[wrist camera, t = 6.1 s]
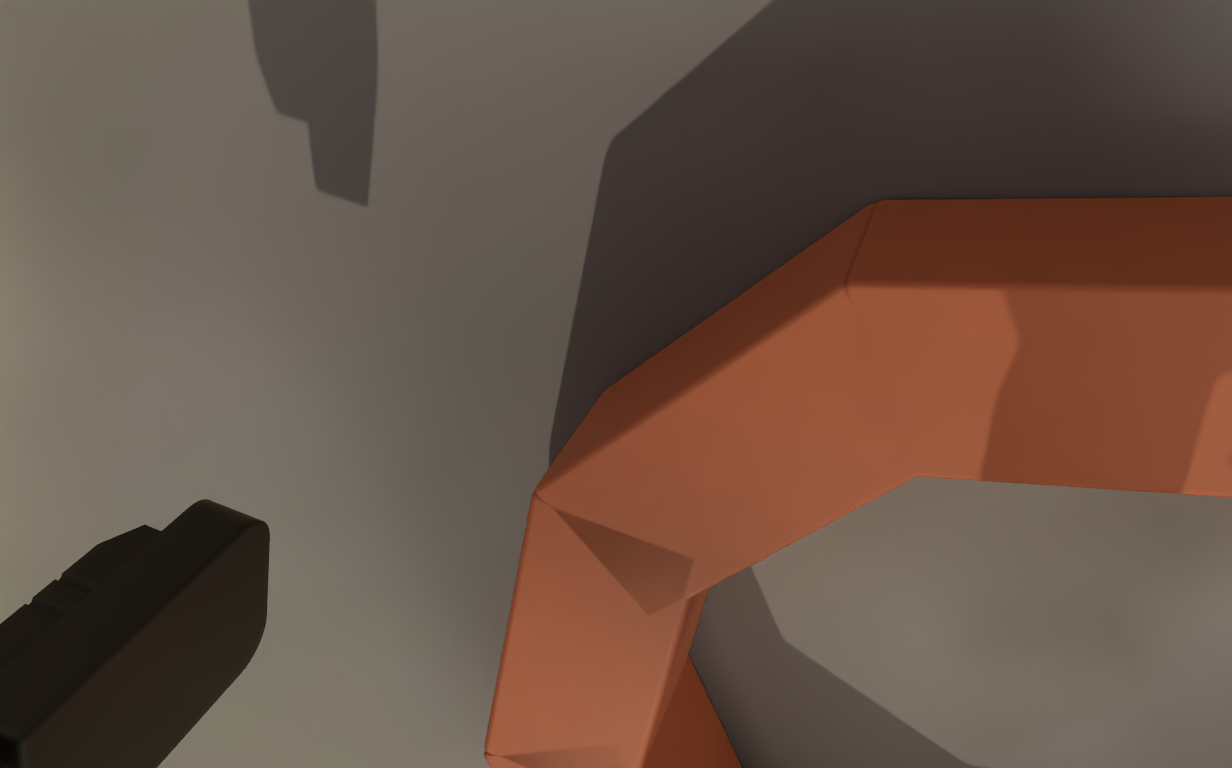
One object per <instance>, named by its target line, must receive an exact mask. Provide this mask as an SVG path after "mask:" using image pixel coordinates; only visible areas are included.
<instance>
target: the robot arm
mask: <svg viewBox="0 0 1232 768" xmlns="http://www.w3.org/2000/svg"><path fill="white" fill-rule="evenodd" d="M269 542H270V532H269V528H268V526H267V524H266V523H265V522H264V521H261V520H259V519H256V518H254V517H251V516H249V515H246V514H243V513H241V512H238V511H236V510H233V509H231V508H228V507H226V506H223V505H220V504H218V503H215V502H213V501H210V500H207V499H204V500H200V501H198V502H196V503H194V504H193V505H192V506H190V507H189V508H188V509H187V510H186V511H184V512H183V513H182V514H181V515H180V516H179V517H177V518H176V519H175V520H174V521H173V522H172V523H170V524H169V525H168V526H167V527H166V528H165V529H164V530H162V531H159V530H157V529H154V528H152V527H149V526H147V525H143V526H140V527H138V528H136V529H133V530H131V531H128V532H126V533H124V534H121V535H119V536H116V537H114V538H112V539H109V540H107V541H104V542H102V543H100V544H98V545H96V546H95V547H94V548H93V549H91V550H90V551H89V552H88V553H87V554H85V555H84V556H83V557H82V558H80V559H79V560H78V561H77V562H76V563H74V564H73V565H72V566H71V567H69V568H68V569H67V570H66V571H65V572H63V573H62V576H61V578H60V579H59V580H58V581H57V580H54V581H52V582H51V583H50V584H49V585H48V586H46V587H45V588H44V589H43V590H41V591H40V592H39V593H38V594H37V595H35V596H34V597H33V600H32V602H31V603H30V604H29V605H27V604H24V605H23V606H22V607H21V608H19V609H18V610H17V611H16V612H15V613H13V614H12V615H11V616H10V617H9V618H7V619H6V620H5V621H4V622H2V623H1V624H0V768H157V767H158V766H159V765H160V763H161V762H162V761H163V760H164V759H165V758H166V757H167V756H168V755H169V753H170V752H171V751H172V750H173V749H174V748H175V747H176V746H177V744H178V743H179V742H180V741H181V740H182V739H183V738H184V737H185V735H186V734H187V733H188V732H189V731H190V730H191V729H192V728H193V726H194V725H195V724H196V723H197V722H198V721H199V720H200V719H201V717H202V716H203V715H204V714H205V713H206V712H207V711H208V710H209V709H210V707H211V706H212V705H213V704H214V703H215V702H216V701H217V700H218V698H219V697H220V696H221V695H222V694H223V693H224V692H225V691H226V689H227V688H228V687H229V686H230V685H231V684H232V683H233V682H234V680H235V679H236V678H237V677H238V676H239V675H240V674H241V673H242V671H243V670H244V669H245V668H246V666H247V665H248V663H249V662H250V660H251V659H252V657H253V655H254V653H255V652H256V650H257V648H258V645H259V643H260V641H261V638H262V635H263V632H264V629H265V624H266V617H267V595H268V569H269Z"/></svg>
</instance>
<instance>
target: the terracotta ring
mask: <svg viewBox="0 0 1232 768" xmlns="http://www.w3.org/2000/svg"><path fill="white" fill-rule="evenodd" d="M916 476H921V477H936V478H951V479H966V480H981V481H996V482H1011V483H1026V484H1041V485H1056V486H1071V487H1086V488H1101V489H1115V490H1130V491H1145V492H1160V493H1175V494H1190V495H1205V496H1220V497H1232V197H1156V198H1048V199H941V200H881V201H879V202H877V204H875V203H874V204H869V205H868V206H866V207H865V208H863V209H862V210H860V211H859V212H858V213H856V214H855V215H853V216H852V217H851V218H849V219H848V220H846V221H845V222H843V223H842V224H841V225H839V226H838V227H836V228H835V229H833V230H832V231H831V232H829V233H828V234H826V235H825V236H824V237H822V238H821V239H819V240H818V241H816V242H815V243H814V244H812V245H811V246H809V247H808V248H806V249H805V250H804V251H802V252H801V253H799V254H798V255H797V256H795V257H794V258H792V259H791V260H789V261H788V262H787V263H785V264H784V265H782V266H781V267H779V268H778V269H777V270H775V271H774V272H772V273H771V274H770V275H768V276H767V277H765V278H764V279H762V280H761V281H760V282H758V283H757V284H755V285H754V286H752V287H751V288H750V289H748V290H747V291H745V292H744V293H743V294H741V295H740V296H738V297H737V298H735V299H734V300H733V301H731V302H730V303H728V304H727V305H725V306H724V307H723V308H721V309H720V310H718V311H717V312H716V313H714V314H713V315H711V316H710V317H708V318H707V319H706V320H704V321H703V322H701V323H700V324H698V325H697V326H696V327H694V328H693V329H691V330H690V331H688V332H687V333H686V334H684V335H683V336H681V337H680V338H679V339H677V340H676V341H674V342H673V343H671V344H670V345H669V346H667V347H666V348H664V349H663V350H661V351H660V352H659V353H657V354H656V355H654V356H653V357H652V358H650V359H649V360H647V361H646V362H644V363H643V364H642V365H640V366H639V367H637V368H636V369H634V370H633V371H632V372H630V373H629V374H627V375H626V376H625V377H623V378H622V379H620V380H619V381H617V382H616V383H615V384H613V385H612V386H610V387H609V388H607V389H606V390H605V391H604V392H603V393H602V394H601V396H600V397H599V399H598V400H597V401H596V403H595V404H594V406H593V407H592V409H591V410H590V411H589V413H588V414H587V416H586V417H585V418H584V420H583V421H582V423H581V424H580V425H579V427H578V428H577V430H576V431H575V433H574V434H573V435H572V437H571V438H570V440H569V441H568V442H567V444H566V445H565V447H564V448H563V449H562V451H561V452H560V454H559V455H558V456H557V458H556V459H555V461H554V462H553V464H552V465H551V466H550V468H549V469H548V471H547V472H546V473H545V475H544V476H543V478H542V479H541V480H540V482H539V483H538V485H537V487H536V489H535V491H534V492H533V493H532V497H531V502H530V507H529V513H528V518H527V523H526V528H525V534H524V539H523V544H522V550H521V555H520V560H519V565H518V571H517V576H516V581H515V586H514V592H513V597H512V602H511V608H510V613H509V618H508V623H507V629H506V634H505V639H504V645H503V650H502V655H501V660H500V666H499V671H498V676H497V682H496V687H495V692H494V697H493V703H492V708H491V713H490V719H489V724H488V729H487V734H486V740H485V752H484V757H485V759H486V760H487V762H488V764H489V766H490V767H491V768H742V766H741V764H740V762H739V760H738V758H737V756H736V754H735V751H734V749H733V747H732V745H731V743H730V741H729V739H728V737H727V735H726V733H725V731H724V728H723V726H722V724H721V722H720V720H719V718H718V716H717V714H716V712H715V710H714V707H713V705H712V703H711V701H710V699H709V697H708V695H707V693H706V691H705V689H704V687H703V684H702V682H701V680H700V678H699V676H698V674H697V672H696V670H695V668H694V666H693V663H692V661H691V659H690V657H689V655H688V654H689V651H690V647H691V644H692V641H693V638H694V634H695V631H696V628H697V625H698V621H699V618H700V615H701V611H702V608H703V605H704V602H705V598H706V595H707V592H708V589H709V588H710V587H712V586H714V585H716V584H717V583H719V582H721V581H723V580H725V579H727V578H729V577H730V576H732V575H734V574H736V573H738V572H740V571H742V570H743V569H745V568H747V567H749V566H751V565H753V564H755V563H756V562H758V561H760V560H762V559H764V558H766V557H767V556H769V555H771V554H773V553H775V552H777V551H779V550H780V549H782V548H784V547H786V546H788V545H790V544H792V543H793V542H795V541H797V540H799V539H801V538H803V537H805V536H806V535H808V534H810V533H812V532H814V531H816V530H818V529H819V528H821V527H823V526H825V525H827V524H829V523H831V522H832V521H834V520H836V519H838V518H840V517H842V516H844V515H845V514H847V513H849V512H851V511H853V510H855V509H857V508H858V507H860V506H862V505H864V504H866V503H868V502H870V501H871V500H873V499H875V498H877V497H879V496H881V495H883V494H884V493H886V492H888V491H890V490H892V489H894V488H896V487H897V486H899V485H901V484H903V483H905V482H907V481H909V480H910V479H912V478H914V477H916Z"/></svg>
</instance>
